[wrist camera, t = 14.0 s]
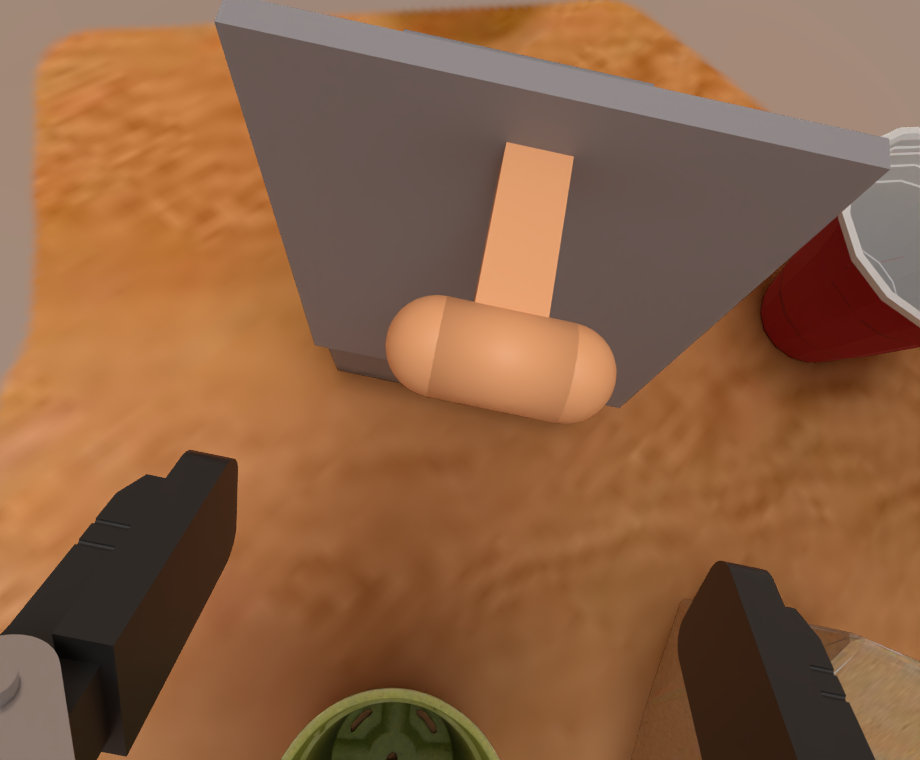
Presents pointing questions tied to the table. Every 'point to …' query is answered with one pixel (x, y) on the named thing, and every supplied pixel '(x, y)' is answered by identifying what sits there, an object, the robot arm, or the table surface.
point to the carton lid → (518, 207)
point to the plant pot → (390, 730)
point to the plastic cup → (856, 272)
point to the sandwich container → (855, 664)
